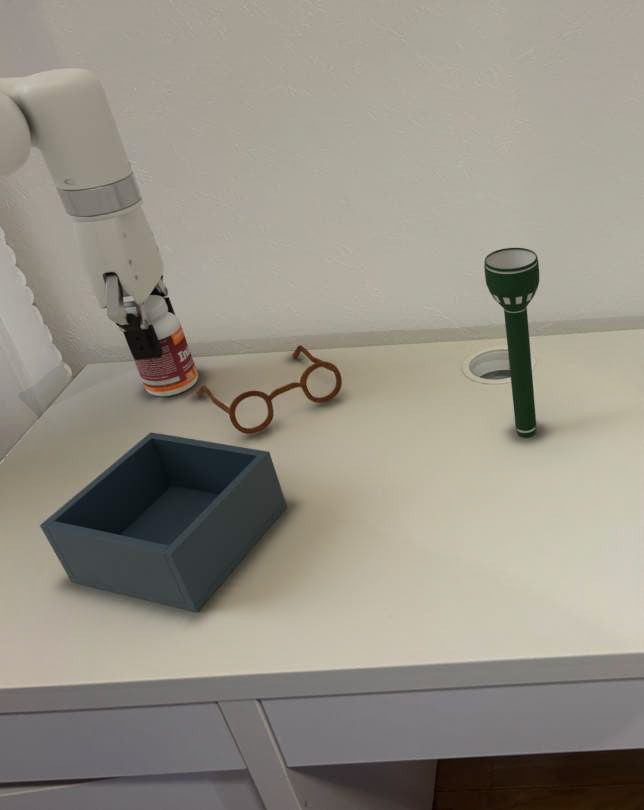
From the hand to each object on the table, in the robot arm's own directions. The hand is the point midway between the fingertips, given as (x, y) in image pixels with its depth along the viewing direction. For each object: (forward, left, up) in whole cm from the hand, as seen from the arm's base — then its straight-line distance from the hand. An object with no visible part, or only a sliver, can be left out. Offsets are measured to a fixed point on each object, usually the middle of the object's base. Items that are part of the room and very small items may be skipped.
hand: (157, 341), depth 94 cm
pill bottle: (0, 0, -6) cm, 6 cm away
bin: (+27, -15, -6) cm, 31 cm away
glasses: (+13, +5, -6) cm, 15 cm away
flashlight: (+43, +16, -6) cm, 46 cm away
